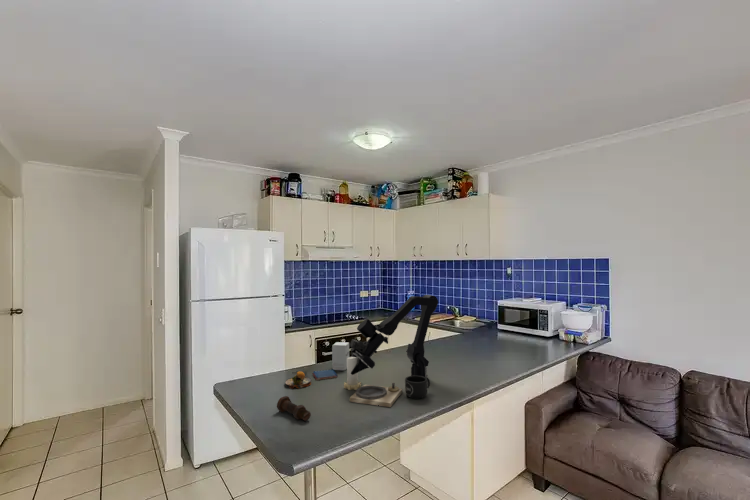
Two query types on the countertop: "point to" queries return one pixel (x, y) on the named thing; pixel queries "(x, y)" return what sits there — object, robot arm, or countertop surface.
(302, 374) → the burger
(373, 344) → the robot arm
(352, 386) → the gear spindle
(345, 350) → the supplement box
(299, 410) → the bolt
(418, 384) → the mug
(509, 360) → the countertop surface
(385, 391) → the gear board
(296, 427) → the countertop surface
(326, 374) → the woven mat
